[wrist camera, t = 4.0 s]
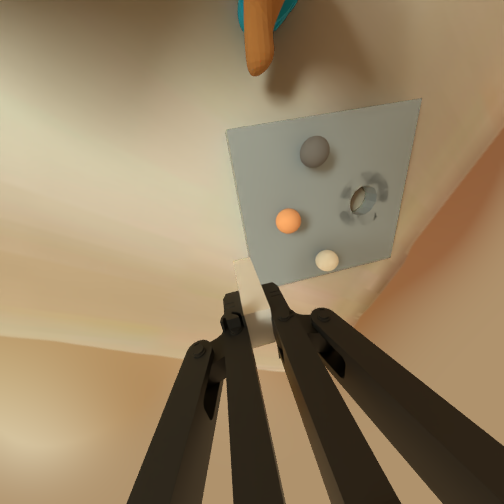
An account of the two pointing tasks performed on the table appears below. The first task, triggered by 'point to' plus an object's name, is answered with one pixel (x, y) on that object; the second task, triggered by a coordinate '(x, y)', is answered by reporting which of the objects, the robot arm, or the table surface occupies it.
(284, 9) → the toy
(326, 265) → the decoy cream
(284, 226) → the ball
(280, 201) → the grey flat plate
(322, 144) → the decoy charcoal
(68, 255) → the table surface
